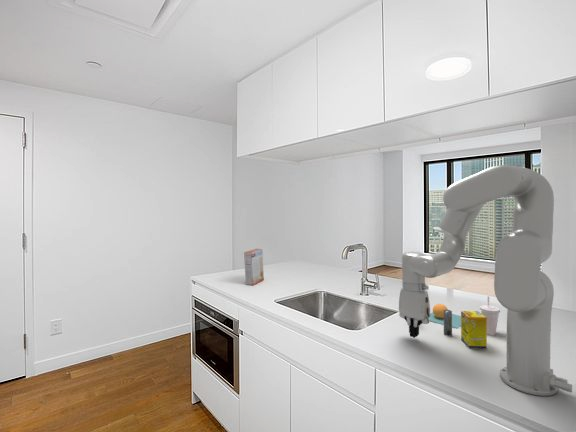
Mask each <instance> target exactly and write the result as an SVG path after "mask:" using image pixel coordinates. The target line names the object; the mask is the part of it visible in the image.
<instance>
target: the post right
mask: <svg viewBox="0 0 576 432" xmlns="http://www.w3.org/2000/svg"><path fill="white" fill-rule="evenodd" d="M452 314H453V311H452V310H450V309H448V310H444V325H443V335H444V336H446V337H452V336H453V327H452Z"/></svg>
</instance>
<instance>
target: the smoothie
mask: <svg viewBox="0 0 576 432" xmlns="http://www.w3.org/2000/svg"><path fill="white" fill-rule="evenodd" d="M479 310H480V313H481V314H482V315H483V316H485V317H486V318H487V336H488V335H489V336H495V335H496V333H497V328H498V322H499V315H500V312H501V309H500V308H499V306H498V307H497V306H496V305H495V306H494V305H491V304H490V296H487V304H483V305H480V306H479Z"/></svg>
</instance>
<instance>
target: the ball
mask: <svg viewBox="0 0 576 432" xmlns="http://www.w3.org/2000/svg"><path fill="white" fill-rule="evenodd" d="M444 310H449V309H448V307H447V306H446V305H445V304H442V303H437V304H435V305H433V307H432V312H433V314H434V315H435V316H436V317H437V318H440V319H443V318H444Z"/></svg>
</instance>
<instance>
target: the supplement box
mask: <svg viewBox="0 0 576 432" xmlns="http://www.w3.org/2000/svg"><path fill="white" fill-rule="evenodd" d="M460 316H461V326H460V337H461V338H460V340H461V342H463V344H465V345H466V347H467V348H468V349H487V348H488V347H487V343H488V342H487V341H488V340H487V339H488V334H487V318H486V317H485V316H483V315H482V314H481V311H478V310H461V311H460Z"/></svg>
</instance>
